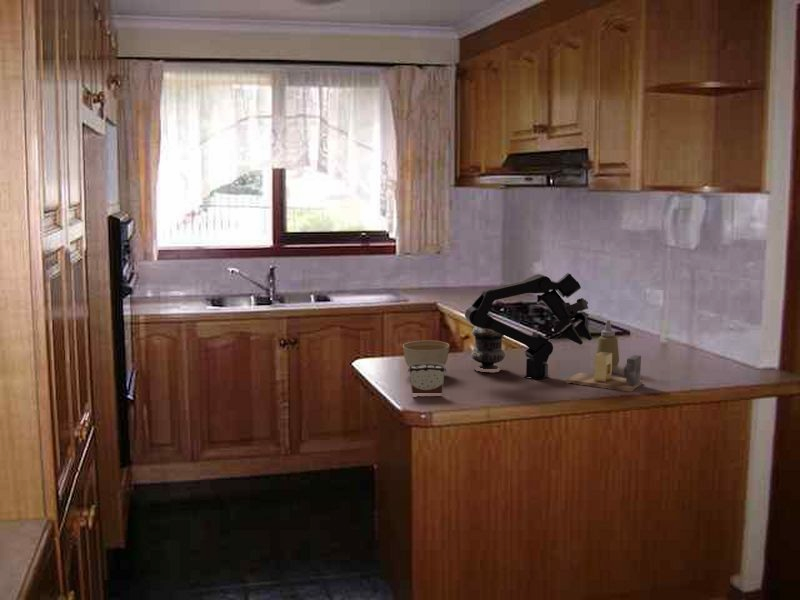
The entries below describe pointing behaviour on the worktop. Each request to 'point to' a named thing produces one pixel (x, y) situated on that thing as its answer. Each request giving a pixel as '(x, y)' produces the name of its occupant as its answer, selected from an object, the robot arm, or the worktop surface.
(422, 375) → the food container
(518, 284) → the robot arm
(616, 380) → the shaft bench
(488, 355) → the apothecary jar
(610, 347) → the squeeze bottle
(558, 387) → the worktop surface
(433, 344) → the planter bowl
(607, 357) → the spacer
